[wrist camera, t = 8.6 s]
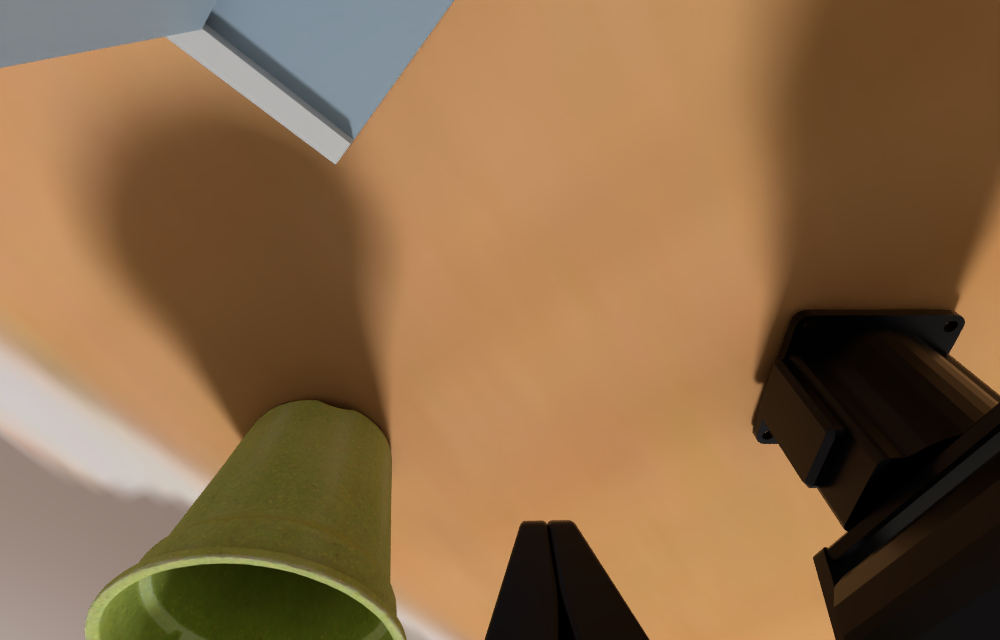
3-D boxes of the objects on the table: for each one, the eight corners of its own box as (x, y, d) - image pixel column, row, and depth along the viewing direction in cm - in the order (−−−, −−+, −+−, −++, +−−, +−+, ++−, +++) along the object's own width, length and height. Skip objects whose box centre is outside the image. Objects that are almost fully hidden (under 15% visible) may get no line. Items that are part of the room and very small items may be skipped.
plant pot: (159, 415, 23) (6, 624, 16) (350, 327, 21) (279, 519, 14) (298, 542, 27) (231, 750, 20) (466, 480, 25) (460, 685, 18)
